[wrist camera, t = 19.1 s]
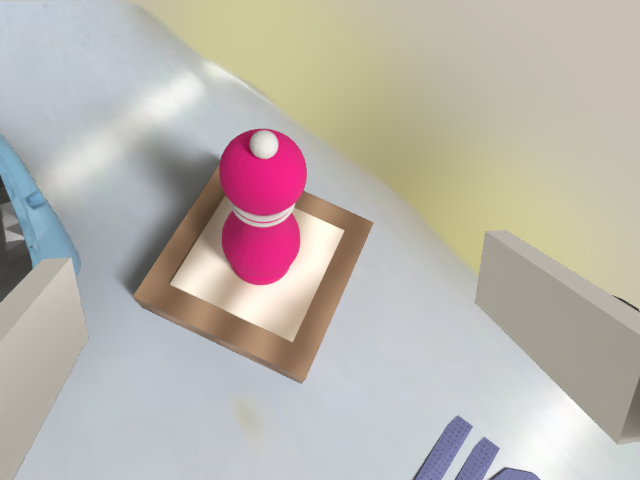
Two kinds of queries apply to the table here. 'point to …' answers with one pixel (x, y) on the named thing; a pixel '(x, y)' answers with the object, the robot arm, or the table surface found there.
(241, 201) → the pepper mill
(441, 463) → the signage
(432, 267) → the table surface
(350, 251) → the walnut stand
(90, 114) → the table surface
